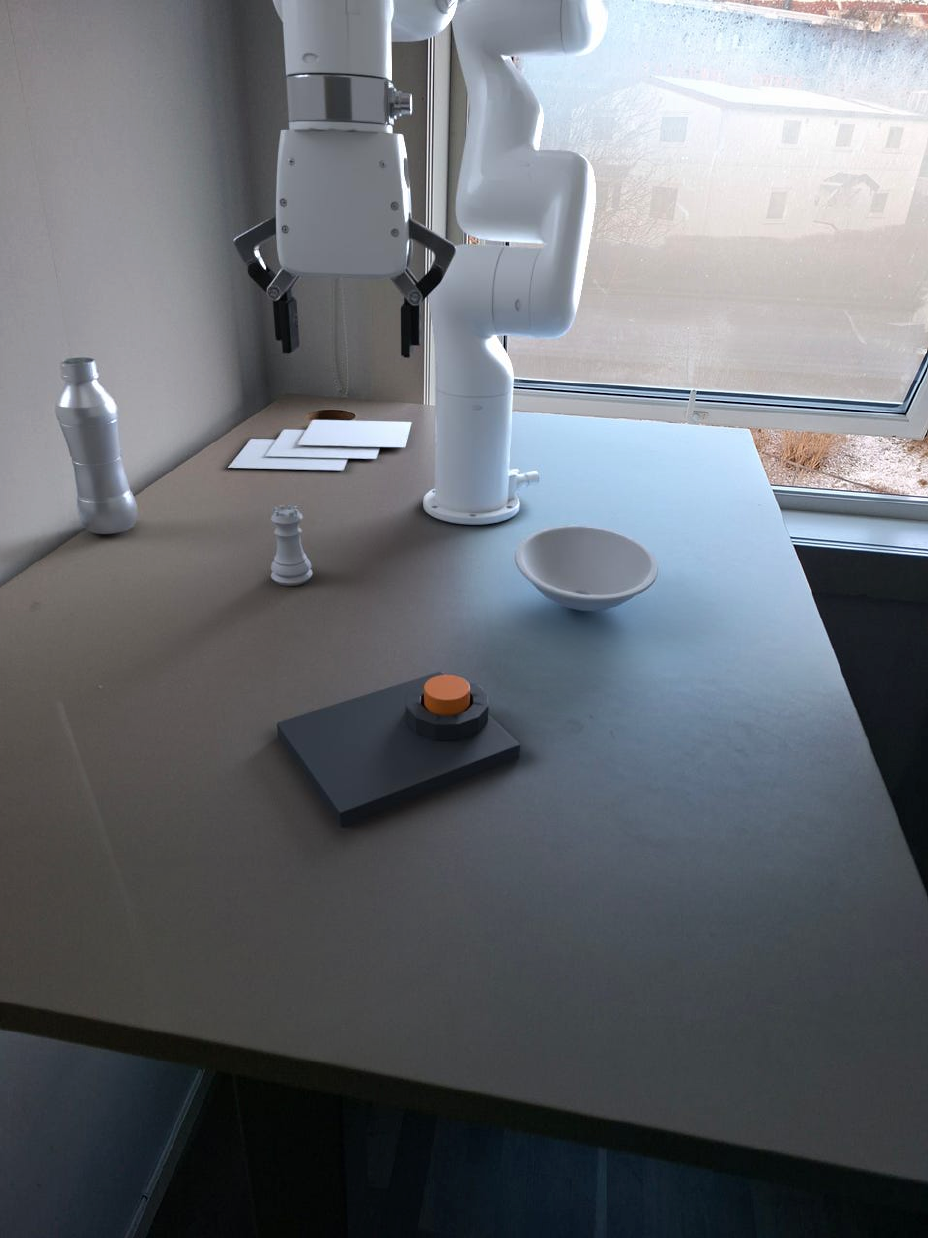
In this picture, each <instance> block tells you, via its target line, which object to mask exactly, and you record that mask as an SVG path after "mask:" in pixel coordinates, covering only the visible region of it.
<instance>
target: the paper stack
mask: <svg viewBox="0 0 928 1238" xmlns="http://www.w3.org/2000/svg"><path fill="white" fill-rule="evenodd" d="M411 427H412V421H391V420H389V421H387V420H386V421H384V420H382V421H381V420H344V419H343V420H342V419H312V420H311V422H310V423H309V425H308V426H307V428H306V429H287V428H286V429H285V428H284V429H282V431H281V432H280V434H279V435H278V437H276V439H267V438H265V439H263V438H250V439H249V441H248V442H247V443H246V444H245V445H244V447H243V448H242V449H241V450H240V452H239V453H238V455H236V457H235V458H234V459H233V460H232V462H231V463H230V464H229V466H228V467H227V468H228V469H259V470H261V469H264V470H265V469H266V470H267V469H268V470H305V471H306V470H308V471H344V470H345V467H346V465H347V464H348V463H347V462H348V460H349V459H357V460H358V459H360V460H361V459H363V460H364V459H365V460H377V458H378V455H379V453H380V449H381V448H406V445H407V442H408V438H409V435H410V430H411Z"/></svg>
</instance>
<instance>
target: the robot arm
mask: <svg viewBox="0 0 928 1238" xmlns="http://www.w3.org/2000/svg"><path fill="white" fill-rule="evenodd" d="M272 4H273V6H274V8H275V11H276V13H277V15H278V17H279V18H280V20H281V22H282V32H283V46H284V62H285V65H284V66H285V77H286V78H285V79H286V81H285V82H286V83H285V84H286V95H287V97H286V98H287V99H286V100H287V115H288V129H281V130H280V134H279V143H278V152H277V153H278V154H277V162H276V163H277V165H276V166H277V167H276V187H275V188H276V190H275V194H276V195H275V199H276V200H275V214H274V215H273V216H271V217H269V218H268V219H266V220H264V221H262V222H261V223H259V224H257V225H255V226H254V227H251V228H250V229H249V230H246V231H245V232H243V233H241V234H240V235H237V236H236V237H235V238H234V239H233V241H232V243H233V247H234V249H235V251H236V253H237V254H238V257H239V258H240V260H241V262H242V263H243V265H244V266H245V268H246V270H247V274H248V276H249V277H250V279H252V280H253V281H254V283H256V284H257V285H258V286H259V287H260V289H262V290H263V292H264V293H265V294H266V296H267V298H268V299H269V300H270V301H272V311H273V312H272V313H273V325H274V326H273V327H274V336H275V337H274V338H275V340H276V341H277V342H278V341H279V342H281V350H282V353H283V354H289V355H290V354H291V353H293V352H295V350H297V349H298V348H299V347H300V334H299V331H300V330H299V317H298V302H297V299H296V298H295V296H293V291H292V290H293V288H294V287H295V286H296V284H297V283H298V282H299V280H300V279H301V278H302V277H308V278H309V277H310V278H312V277H314V278H334V279H335V278H337V279H338V278H340V279H365V280H367V279H369V280H384V279H385V280H387V279H389V280H390V281H391V282H392V283H393V285H395V287H396V288H397V290H398V291H399V292H400V293H401V295H402V296H403V303H402V305H401V307H400V357H403V358H407V359H410V358H411V357H412V355H413V354H414V346H415V347H416V346H418V347H420V346H421V343H422V302H424V301H425V299H426V298H427V300H428V307H429V312H430V318H431V324H432V325H431V326H432V332H433V341H434V365H435V366H434V369H435V376H434V377H435V379H434V380H435V381H434V382H435V390H434V391H435V394H434V395H435V396H434V397H435V398H434V399H435V400H434V401H435V403H434V405H435V410H434V411H435V412H434V413H435V416H434V417H435V421H434V422H435V424H434V426H435V427H434V429H435V431H434V432H435V433H434V437H435V438H434V439H435V440H434V448H435V449H434V451H435V452H434V469H435V470H434V488H433V489H431V490H429V491H427V493H425V495H424V496H423V499H422V506H423V510H424V511H425V512H426V513H427V514H428V515H430V516H431V517H433V518H435V519H437V520H439V521H443V522H446V523H451V524H458V525H468V526H469V525H470V526H479V525H490V524H495V523H496V524H497V523H500V522H503V521H506V520H507V521H508V520H509V519H511V518H513V517H514V516H516V515H517V513H518V512H519V511H520V504H521V503H520V502H521V501H520V498H519V497H518V495H516V493H517V492H519V491H520V490H521V488H529V487H534V486H538V485H539V483H540V475H539V473H538V472H537V471H536V470H532V471H527V472H523V473H521V471H520V470H519V469H518V468H514V469H510V467H511V466H510V465H511V464H510V462H511V443H512V441H511V440H512V422H513V398H514V381H515V379H514V377H515V376H514V369H513V366H512V362H511V359H510V358H509V356H508V353H507V352H506V349H505V348H504V347H503V345H502V343H501V342H500V341H499V338H498V336H499V337H501V336H506V337H507V336H509V337H518V338H519V337H520V338H531V339H548V340H551V339H558V338H561V337H563V336H565V334H567V333H568V332H569V331H570V329H571V327H572V326H573V324H574V322H575V319H576V316H577V310H578V308H579V303H580V298H581V297H580V296H581V291H582V285H583V279H584V275H585V267H586V262H587V256H588V250H589V246H590V239H591V232H592V228H593V227H592V226H593V221H594V213H595V204H596V182H595V174H594V170H593V167H592V165H591V163H590V162H589V161H588V159H587V158H586V157H585V156H583V155H582V154H580V153H578V152H575V151H570V150H562V149H539V148H540V141H541V136H542V130H543V124H544V112H543V108H542V105H541V103H540V101H539V98H538V96H537V94H536V93H535V90H534V89H533V87H532V86H531V84H530V83H529V81H528V80H527V79H526V78H525V76H524V75H523V74H522V73H521V72H520V70H519V69H518V67H517V66H516V65H515V63H514V61H513V60H512V57H514V58H515V57H516V58H517V57H525V58H526V57H527V58H528V57H529V58H532V57H578V56H583V55H586V54H589V53H590V52H592V51H593V50H595V48H596V47H597V46H598V45H599V44H600V42H601V41H602V39H603V37H604V34H605V32H606V29H607V23H608V18H609V7H610V6H609V4H610V2H609V0H272ZM450 22H451V27H452V33H453V37H454V42H455V48H456V52H457V55H458V61H459V65H460V69H461V72H462V76H463V80H464V83H465V88H466V92H467V97H468V108H469V109H468V110H469V111H468V113H469V114H468V122H467V129H466V135H465V140H464V146H463V150H462V151H463V152H462V157H461V163H460V169H459V176H458V181H457V187H456V195H455V196H456V197H455V218H456V221H457V225H458V227H459V228H460V229H461V231H462V232H463V233H464V234H465V235H467V236H470V237H472V238H475V239H480V240H484V241H491V242H505V243H525V244H541V245H544V247H527V246H510V245H501V244H482V243H465V244H464V243H463V244H455V243H454V242H452V241H451V240H449V239H447V238H445V237H443V236H442V235H440V234H439V233H437V232H435V231H434V230H432V229H431V228H429V227H427V226H425V225H424V224H422V223H421V222H419V221H418V220H416V219H414V218H412V217H413V216H412V200H411V182H410V172H409V171H410V170H409V163H408V157H407V150H406V143H405V140H404V139H405V138H404V134H402V133H395V132H393V126H394V125H395V123H394V121H397V117H402V116H404V115H405V116H412V112H413V97H412V93H411V92H410V93H409V92H407V93H405V92H402V91H401V90H397V88H396V87H394V84H393V83H392V81H393V79H392V78H393V76H392V74H393V73H392V71H393V70H392V69H393V68H392V65H393V64H392V63H393V62H392V43H400V42H402V43H409V42H419V41H425V40H428V39H431V38H434V37H436V36H437V35H439V34H441V33H442V32H443V31H444V30H445V29H446V28H447V26H448V25H449V24H450ZM275 237H276V250H277V257H278V261H279V265H280V267H281V269H280V270H279V271H278V273H277V274H276V273H275V271H273V269H271V268H270V266H268V264H266V263H265V262H264V261H263V258H262V255H261V254H260V251H259V248H260V247H261V245H263V244H264V243H267V242H268V241H270V240H272V239H273V238H275ZM413 241H414V242H415V243H417V244H419V245H421V246H422V247H424V248H426V249H427V250H429V251H431V252H432V253H433V255H434V258H433V259H432V261H431V262H430V265H429V268H428V271H427V272H426V273H425V274H424V276H423V277H421V278H420V280H418V279H417V278H416V277H415V275H414V274H413V273H412V271H411V270H410V269H409V268H410V267H411V265H412V260H413Z"/></svg>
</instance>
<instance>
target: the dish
mask: <svg viewBox="0 0 928 1238" xmlns="http://www.w3.org/2000/svg"><path fill="white" fill-rule="evenodd" d="M514 561H515V565H516V568H517V569H518V571H519V572H520V574H521V575H522V576H523V577H524V578H525V579H526V580H527V581H528V582H530V583H531V584H532V585H533V587H535V588H536V590H538V591H539V593H541V594H542V595H543V596H544V597H546V598H548V599H549V600H550V601H552V602H554V603H556V604H558V605H560V606H563V607H565V608H567V609H571V610H576V611H583V612H597V611H603V610H608V609H611V608H615V607H618V606H621V605H622V604H624V603H626V602H628V601H629V600H632V599H633V598H634V597H635V596H638V595H639V594H642V593H643V592H645V591H646V590H648V589H649V588H650V587H651V586H653V584H654V583H655V581H656V579H657V577H658V574H659V564H658V560H657V559H656V557H655V556H654V553H652V551H651V550H650V549H649V548H648V547H647V546H646V545H644V544H643V543H641V541H638V540H636V539H635V538H633V537H631V536H629V535H626V534H624V533H622V532H619V531H616V530H613V529H609V528H604V527H599V526H594V525H593V526H592V525H583V524H582V525H581V524H566V525H557V526H556V525H555V526H551V527H546V528H542V529H540V530H537V531H535V532H532V533H530V534H529V535H527V536H526V537H524V538H523V539H522V540H521V541H520V542H519V544H518V545H517V546H516V549H515V553H514Z"/></svg>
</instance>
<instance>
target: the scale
mask: <svg viewBox="0 0 928 1238" xmlns="http://www.w3.org/2000/svg"><path fill="white" fill-rule="evenodd" d="M439 675H446V674H445V673H444V672H443V671H437V672H433V673H431V674H428V675H424V676H421V677H418V678H414V679H412V680H409V681H405V682H402V683H398V684H396V685H393V686H388V687H386V688H383V689H380V690H377V691H374V692H373V691H372V692H369V693H367V694H363V695H361V696H357V697H354V698H351V699H347V700H345V701H342V702H338V703H335V704H332V705H329V706H326V707H322V708H319V709H316V710H313V711H309V712H306V713H303V714H300V715H297V716H293V717H290V718H287V719H285V720H281V721H277V722H276V729H277V737H278V738H279V740H280V741H281V742H282V745H283V746H284V747H285V749H287V751H288V753H289V755H290V756H291V757H292V759H293V760H294V762H295V763H296V765H297V766H298V768H299V769H300V771H302V773H303V775H304V776H305V778H306V779H307V781H308V782H309V783H310V785H311V786H312V787H313V790H314V791H315V792H316V794H317V796H318V797H319V798H320V799H321V801H322V802H323V804H324V805H325V807H326V808H327V809H328V811H329V813H330V814H331V816H332V817H333V818H334V820H335V821H336V823H337V824H338V825H339V827H340V828H344V827H347V826H349V825H351V824H354V823H357V822H359V821H362V820H365V819H367V818H369V817H372V816H375V815H377V814H379V813H382V812H385V811H388V810H390V809H394V808H396V807H398V806H400V805H403V804H405V803H408V802H410V801H413V800H417V799H419V798H421V797H423V796H426V795H429V794H431V793H433V792H434V793H435V792H436V791H439V790H441V789H444V788H446V787H449V786H451V785H452V786H453V785H454V784H457V783H459V782H462V781H464V780H467V779H470V778H472V777H475V776H477V775H480V774H482V773H484V772H487V771H490V770H493V769H495V768H498V767H501V766H503V765H505V764H508V763H512V762H513V761H516V760H518V759H520V754H521V744H520V743H519V742H518V741H517V740H516V739H515V738H514V737H513V736H512V735H511V734H510V733H509V732H507V730H506V729H504V728H503V727H502V726H501V725H500V724H499V723H498V722H497V721H495V720H494V719H493V718H492V717H491V716H490V715H489V709H490V708H489V697H488V695H489V694H488V692H487V691H485V690H484V689H483V688H482V687H481V686H480V685H478V683H476V682H474V681H470V680H466V679H465V680H466V681H467V682H468V683H469V685H470V704H469V707H468V709H467V710H466V711H464V712H462V713H459V714H456V715H438V714H435V713H432V712H430V711H428V710H427V709H426V707H425V705H424V686H425V683H426V682H427V681H428V680H429V679H431V678H433V677H435V676H439Z"/></svg>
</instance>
